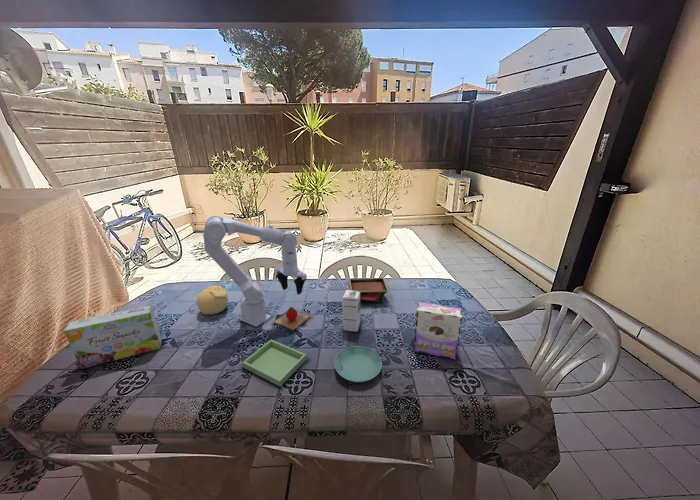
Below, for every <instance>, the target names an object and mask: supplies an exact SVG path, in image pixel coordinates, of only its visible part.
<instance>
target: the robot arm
mask: <svg viewBox="0 0 700 500" xmlns="http://www.w3.org/2000/svg"><path fill="white" fill-rule="evenodd" d="M235 233H239V234H245V235H249V236H254V237H258V238H259V239H260V240H261V241H262V242H265V243H271V244H275V245H280V246H281V248H280V249H281V251H280V252H281V261H282V266H277V267H275V268H274V269H275V273H276V275H275V278H276V279H277V280H278V282H279V284H280V286H281V288H282V290H283V291H285V290H287V289H288V288H289V284H288V283H289V282H288V278H289V277H294V278H295V279H294V280H293V283H294V285H295V289H296V294H297V295H301V294H302V293H303V289H304V288H303V287H304V285H305V282H306V280H307V278H308V277H307V273H305V272H304V271H301V270H300V269H299V267H298V256H297V244H298V239H297V237H296V235H295V234H294V233H293V232H292V231H291V230H289V229H285V228H282V229H280V228H275V227H274V226H273V225H271V224H269V225H264V226H261V227H260V226H256V225H252V224H250V223H246V222H243V221H239V220H235V219H232V218H229V217H224V216H223V217H221V216H219V215H212V216H210V217H208V219H206V222H205V225H204V229H203V233H202V237H203V244H204V251H205V253H206V254H207V255H208V256H209V257H210V258H211V259H212V260H213V261H214V262H215V263H216V264H217V266H219V268H221V269H222V271H223V272H224V273H225V274H226V275H227V276H228V277H230V279H231V280H232V281H233V282H234V283H235V284H236V285H237V286H238V287H239V289H240V291H241V293H242V294H243V295H244V297H243V298H242V299H241V301H240V303H239V305H240V306H239V307H240V314H241V318H240V321H241V322H244V323H247V324H249V325H250V326H254V327H256V328H257V327H258V326H260V325H261V324H263V323H264V322H266V321H267V320H268V319H270V318H271V317H272V315H271V314H269V313H267V310H266V309H267V308H266V302H265V296H264V293H263V291H262V287H261V283H260V282H259V281H258V280H255V279H254V278H252V276H250V275H248V274H247V273H246V272H245V271H244V270H243V269H242V267H241V266H240V265H239V264H238V263H237V261H235V259H233V257H232V256H231V255H230V254H229V252H228V251H226V249H225V248H224V247H222V241H223V239H224V238H225V236H226V234H227V236H231V235H233V234H235Z"/></svg>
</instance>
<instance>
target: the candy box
mask: <svg viewBox="0 0 700 500" xmlns="http://www.w3.org/2000/svg"><path fill="white" fill-rule="evenodd" d="M462 321H463V313H462V308H461V307H460V308H459V307H455V306H448V305H443V304H435V303H428V302H423V301H418V303H417V308H416V315H415V326H414V339H413V340H414V341H413V348H412V351H413V352H416V353H422V354H427V355H432V356H436V357H441V358H446V359H449V360H450V359H451V360H457V356H458V349H459V340H460V334H461V330H462V329H461V328H462Z"/></svg>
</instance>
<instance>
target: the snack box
mask: <svg viewBox="0 0 700 500" xmlns="http://www.w3.org/2000/svg"><path fill="white" fill-rule="evenodd" d="M63 333H64V335H65V338H66V339H67V342H68V344H69V346H70V348H71V350H72V353H73V355H74V358H75V360H76V362H77V364H78V366H79V369H80V370H83V369H87V368H90V367H95V366H99V365H103V364H107V363H111V362H114V361H118V360H122V359H126V358H130V357H133V356H137V355H143V354H144V353H149V352H152V351H157V350H160V349H161V348H162V342H163V339H162V336H161V332H160V329H159V325H158V322H157V319H156V315H155V312H154V309H153V306H152V305H146V306H141V307H137V308H132V309H126V310H121V311H116V312H112V313H106V314H102V315H97V316H92V317H87V318H81V319H78V320H72V321H69V322H68V323H67V325H66V326H65V328H64V329H63Z"/></svg>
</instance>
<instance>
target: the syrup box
mask: <svg viewBox="0 0 700 500" xmlns="http://www.w3.org/2000/svg"><path fill="white" fill-rule="evenodd" d="M341 300H342V301H341V302H342V327H343V328H342V329H343V331H348V332H356V333H357V332H359V329H360V326H361V301H360V291H355V290H350V289H345V292H344V293H343V295H342V299H341Z"/></svg>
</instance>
